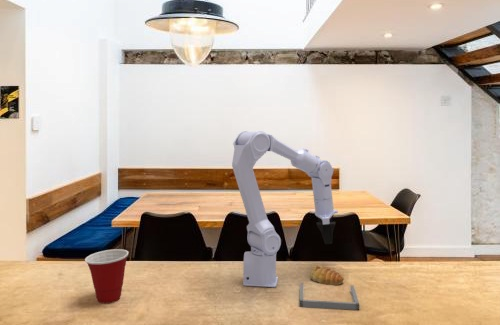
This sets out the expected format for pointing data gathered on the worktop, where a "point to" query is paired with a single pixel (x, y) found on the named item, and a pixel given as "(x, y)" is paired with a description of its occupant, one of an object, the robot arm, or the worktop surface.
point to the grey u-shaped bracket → (330, 302)
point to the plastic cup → (107, 273)
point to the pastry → (326, 276)
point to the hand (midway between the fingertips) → (327, 239)
